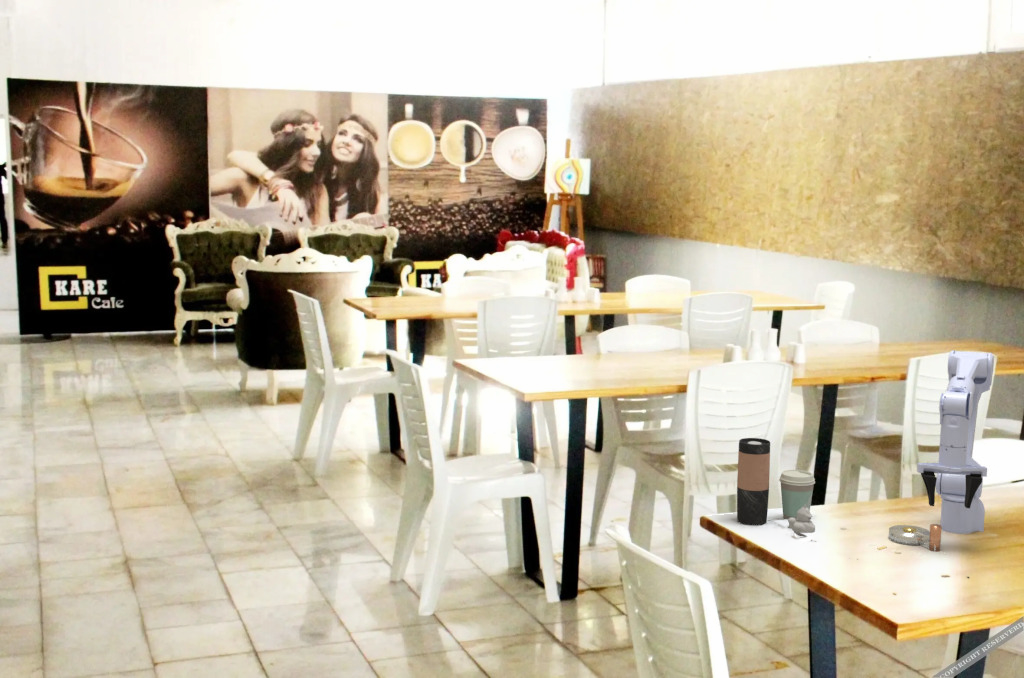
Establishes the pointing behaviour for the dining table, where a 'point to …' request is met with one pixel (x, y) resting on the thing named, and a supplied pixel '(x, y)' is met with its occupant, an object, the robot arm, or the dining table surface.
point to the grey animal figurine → (802, 522)
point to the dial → (917, 536)
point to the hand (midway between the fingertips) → (949, 506)
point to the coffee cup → (796, 491)
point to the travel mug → (753, 481)
